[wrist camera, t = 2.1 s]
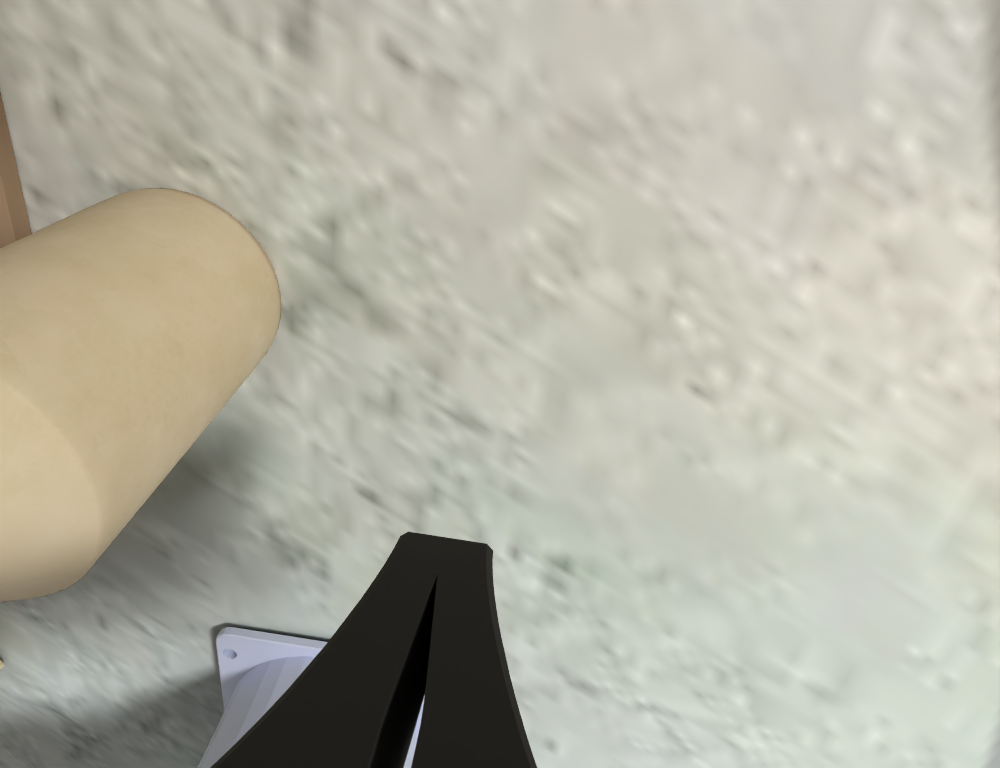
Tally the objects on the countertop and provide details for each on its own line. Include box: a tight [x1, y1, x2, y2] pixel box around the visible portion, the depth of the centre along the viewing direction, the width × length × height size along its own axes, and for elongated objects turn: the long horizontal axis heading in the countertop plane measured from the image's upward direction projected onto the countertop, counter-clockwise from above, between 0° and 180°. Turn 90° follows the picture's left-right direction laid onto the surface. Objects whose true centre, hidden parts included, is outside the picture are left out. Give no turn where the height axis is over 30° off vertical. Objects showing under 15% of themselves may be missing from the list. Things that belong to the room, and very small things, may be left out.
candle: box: [0, 188, 281, 602], centre depth 15 cm, size 6×6×10 cm
